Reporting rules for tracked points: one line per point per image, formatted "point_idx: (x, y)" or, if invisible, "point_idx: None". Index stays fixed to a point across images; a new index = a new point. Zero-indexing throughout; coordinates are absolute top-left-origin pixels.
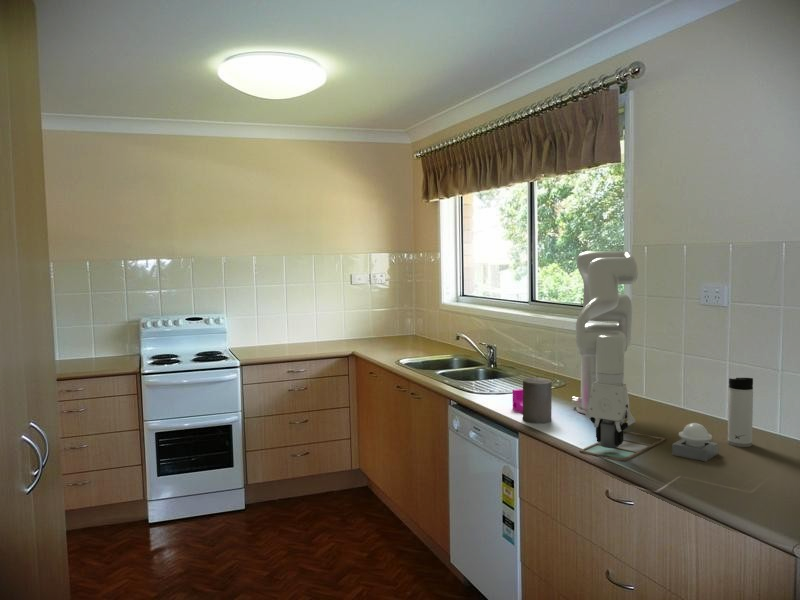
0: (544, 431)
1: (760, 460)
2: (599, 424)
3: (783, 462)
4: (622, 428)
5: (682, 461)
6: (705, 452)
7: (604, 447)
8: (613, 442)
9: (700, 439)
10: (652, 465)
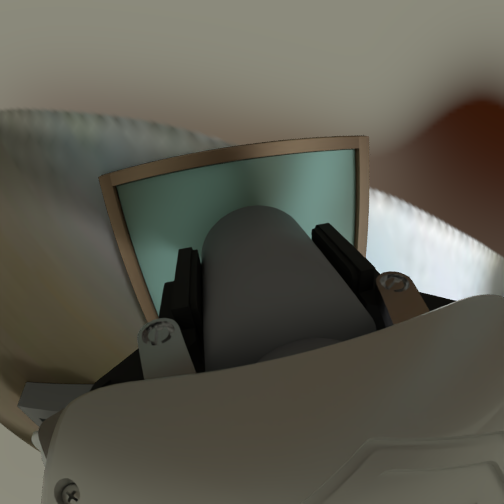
0: (500, 263)
1: (26, 427)
2: (378, 314)
3: (15, 430)
4: (136, 358)
5: (35, 351)
6: (20, 401)
7: None
8: (207, 252)
9: (32, 436)
10: (21, 243)
